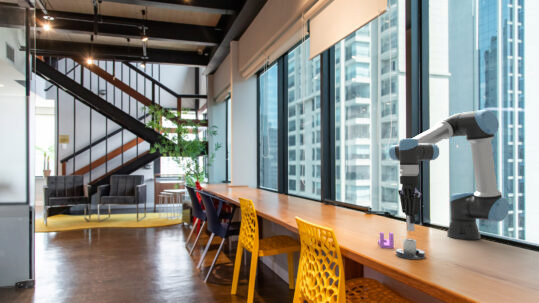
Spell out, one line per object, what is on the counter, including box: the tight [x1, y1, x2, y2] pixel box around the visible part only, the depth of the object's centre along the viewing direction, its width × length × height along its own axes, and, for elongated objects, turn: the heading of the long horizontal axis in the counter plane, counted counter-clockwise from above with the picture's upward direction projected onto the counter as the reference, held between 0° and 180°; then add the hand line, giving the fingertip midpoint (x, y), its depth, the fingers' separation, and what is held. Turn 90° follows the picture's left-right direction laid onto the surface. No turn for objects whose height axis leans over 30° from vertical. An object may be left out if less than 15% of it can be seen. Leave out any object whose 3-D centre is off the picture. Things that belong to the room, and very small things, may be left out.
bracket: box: [377, 231, 395, 249], centre depth 168 cm, size 13×6×7 cm, turn 169°
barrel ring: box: [395, 248, 426, 260], centre depth 148 cm, size 11×11×2 cm
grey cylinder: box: [402, 238, 417, 256], centre depth 148 cm, size 5×5×6 cm
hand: (410, 230), depth 148 cm, fingers closed
